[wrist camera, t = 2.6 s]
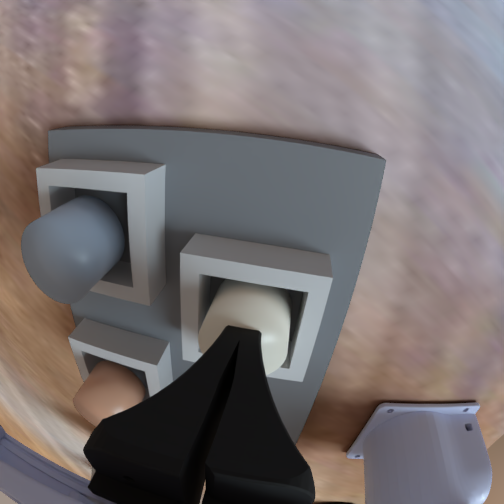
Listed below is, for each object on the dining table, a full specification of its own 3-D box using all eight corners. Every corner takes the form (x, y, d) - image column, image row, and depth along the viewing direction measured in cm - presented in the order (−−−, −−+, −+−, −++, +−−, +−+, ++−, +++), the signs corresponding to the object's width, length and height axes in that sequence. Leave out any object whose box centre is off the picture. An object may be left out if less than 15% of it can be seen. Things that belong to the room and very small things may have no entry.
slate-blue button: (122, 199, 12) (80, 226, 10) (127, 275, 14) (94, 313, 11) (59, 192, 13) (14, 215, 10) (68, 261, 14) (31, 292, 12)
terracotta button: (141, 370, 17) (120, 409, 14) (148, 406, 18) (132, 441, 16) (89, 353, 17) (65, 387, 14) (101, 390, 19) (82, 421, 16)
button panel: (378, 154, 13) (400, 170, 10) (294, 434, 22) (291, 470, 19) (65, 126, 14) (21, 137, 11) (108, 389, 24) (90, 418, 21)
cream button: (297, 278, 14) (295, 320, 11) (284, 339, 16) (279, 383, 13) (217, 265, 14) (198, 302, 12) (214, 326, 16) (197, 368, 13)
